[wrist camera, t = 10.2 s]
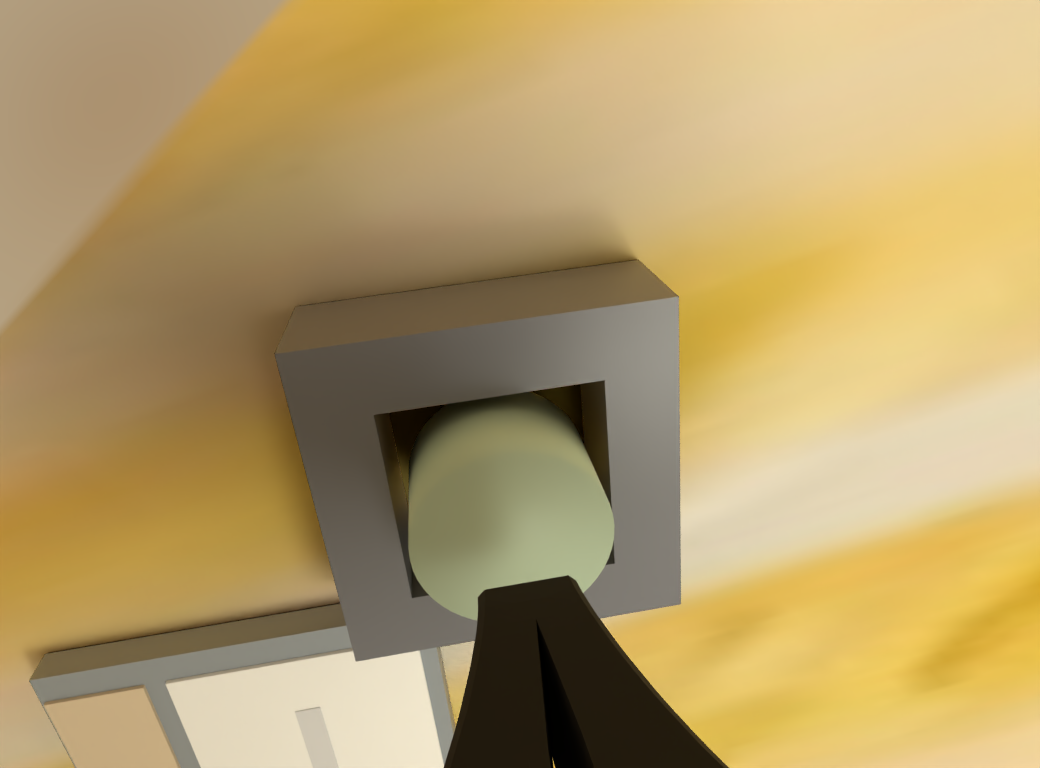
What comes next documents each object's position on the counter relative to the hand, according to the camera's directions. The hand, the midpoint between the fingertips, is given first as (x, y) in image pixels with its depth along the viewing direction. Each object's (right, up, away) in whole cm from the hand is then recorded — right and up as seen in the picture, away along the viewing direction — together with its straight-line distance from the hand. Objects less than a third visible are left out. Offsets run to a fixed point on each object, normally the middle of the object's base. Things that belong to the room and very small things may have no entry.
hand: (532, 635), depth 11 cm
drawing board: (-6, -7, +9) cm, 13 cm away
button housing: (-1, +3, +6) cm, 6 cm away
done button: (-1, +2, +4) cm, 5 cm away
